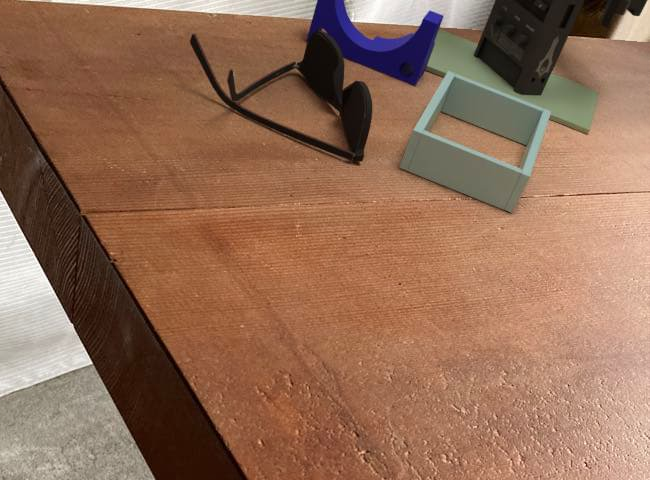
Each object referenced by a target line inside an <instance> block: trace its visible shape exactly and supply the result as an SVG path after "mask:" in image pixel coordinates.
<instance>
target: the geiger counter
mask: <svg viewBox="0 0 650 480" xmlns="http://www.w3.org/2000/svg"><path fill="white" fill-rule="evenodd" d="M585 1H586V0H494V3H493V5H492V8H491V11H490V13H489V15H488V18H487V20H486V24H485V25H484V28H483V31H482V33H481V35H480V38H479V39H478V40H479V41H478V43H477V44H478V45H477V48H476V50H475V53H474V55H473V56H474V57H476V58H480V59H481V60H482V61H483V62H484V63H485V64H487V65H488V66H489V67H490V68H491V69H492V70H494V71H495V72H496V73H497V74H498V75H499V76H500V77H502V78H503V79H504V80H505V81H506V82H507V83H508V84H510V85H511V86H512V87H513V88H514V90H513V91H515V92H516V93H518V94H521V95H540V96H541V94H542V92H543V90H544V88H545V86H546V83H547V81H548V79H549V77H550V75H551V73H552V72H553V71H554V69H555V66H556V64H557V61H558V60H559V57H560V55H561V53H562V51H563V49H564V46H565V44H566V42H567V40H568V38H569V36H570V34H571V32H572V29H573V27H574V25H575V23H576V20H577V18H578V16H579V13H580V11H581V10H582V7H583V5H584V3H585Z"/></svg>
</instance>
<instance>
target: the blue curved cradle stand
mask: <svg viewBox="0 0 650 480" xmlns="http://www.w3.org/2000/svg"><path fill="white" fill-rule="evenodd" d="M443 19H444V15H443V14H440V13H438V12H435V11H432V10H428V11H427V12H426V14H425V15H424V17H423V18H422V21H421V22H420V25H419V27H418V29H417V30H415V31H414V33H412V32H410V33H409V34H406V35H404V36H401V37H394V38H387V37H386V38H385V37H381V36H378V35H375V37H374V38H373V39H372V38H369V37H368V36H366V35H364V34H363V33H362V32H361V31H359V30H358V28H357V27H356V26H355V25H354V23H353V22H352V20H351V18H350V17H349V15H348V12H347V9H346V4H345V0H316V4H315V8H314V11H313V15H312V18H311V22H310V25H309V29H308V33H307V37H306V41H305V43H306V44H307V43H308V40H309V38H310V35H311V34H312V33H313V32H314V31H316V30H318V31H324V32H326V33H327V34H329V35H330V36H331V37H332V38H333V39H334V40H335V41H336V43H337V44H338V46H339V47H340V49H341V51H342V54H343V58H345V59H348V60H350V61H352V62H354V63H357V64H359V65H362V66H365V67H368V68H370V69H373V70H375V71H377V72H380V73H383V74H385V75H387V76H390V77H392V78H395V79H398V80H400V81H402V82H405V83H407V84H410V85H412V86H416V85H417V84H418V82H419V81H420V80H421V78H422V77H423V75H424V74H425V73H426V67H427V64H428V62H429V59H430V56H431V53H432V51H433V48H434V45H435V42H434V41H435V39H436V36H437V33H438V30H439V29H440V27H441V25H442V22H443Z"/></svg>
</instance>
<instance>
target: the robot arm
mask: <svg viewBox="0 0 650 480" xmlns="http://www.w3.org/2000/svg"><path fill="white" fill-rule="evenodd" d="M603 1H604V2H605V3H606V5H605V7H604V10H603V14H602V17H601V21H600V26H601V27H604V28H607V29H608V28H609V26H610V23H611V21H612V20H613V18H614V15H615V14H617V15H620V16H624V15H625V14H626V12H627V11H628V12H629V13H630V14H631V16H633V17H640V16H641V14H642V12H643V10H644V8H645V7H646V5H647V2H648V0H603Z"/></svg>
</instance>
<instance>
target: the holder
mask: <svg viewBox="0 0 650 480" xmlns="http://www.w3.org/2000/svg"><path fill="white" fill-rule="evenodd" d="M441 113H444V114H447V115H448V116H451V117H454V118H457V119H459V120H462V121H464V122H466V123H469V124H470V125H471V124H472V125H474V126H476V127H479V128H481V129H483V130H487V131H489V132H491V133H494V134H497V135H499V136H501V137H503V138H507V139H509V140H510V141H511V140H512V141H514V142H516V143H519V144H522V145H524V146H526V147H525V150H524V152H523V156H522V158H521V160H520V164H519V166H515V165H512V164H510V163H508V162H506V161H502V160H501V159H497V158H495V157H492V156H490V155H487V154H485V153H483V152H480V151H477V150H475V149H472V148H471V147H467V146H465V145H462V144H460V143H457V142H455V141H453V140H450V139H447V138H445V137H442V136H440V135H438V134H434V133H432V132H431V130H432V129H433V126H434V124H435V123H436V121H437V119H438V117H439V115H440V114H441ZM550 115H551V111H549V110H546V109H543V108H541V107H539V106H536V105H534V104H531V103H529V102H526V101H524V100H521V99H519V98H516V97H514V96H511V95H509V94H506V93H503V92H501V91H498V90H496V89H493V88H491V87H488V86H486V85H483V84H481V83H478V82H476V81H473V80H471V79H468V78H465V77H463V76H460V75H458V74H455V73H453V72H450V71H448V72H447V74H446V75H445V77H443V79H442V81H441V82H440V84H439V86H438V87H437V89H436V90H435V92H434V94H433V96H432V97H431V99H430V101H429V102H428V104H427V106H426V107H425V109H424V111H423V112H422V114H421V116H420V117H419V119H418V120H417V122H416V124H415V125H414V128H413V129H412V131H411V135H410V138H409V140H408V143H407V145H406V148H405V150H404V153H403V156H402V159H401V161H400V163H399V166H398V167H399V169H401V170H404V171H406V172H409V173H411V174H414V175H416V176H419V177H421V178H423V179H426V180H429V181H431V182H433V183H436V184H438V185H440V186H442V187H445V188H448V189H451V190H453V191H456V192H458V193H461V194H462V195H466V196H468V197H471V198H473V199H475V200H478V201H480V202H483V203H485V204H487V205H491V206H493V207H496V208H498V209H500V210H503V211H505V212H508V213H511V214H513V213H514V211H515V210H516V207H517V205H518V203H519V202H520V199H521V196H522V195H523V192H524V191H525V188H526V187H527V185H528V182H529V180H530V178H531V175H532V173H533V169H534V166H535V163H536V160H537V157H538V154H539V151H540V148H541V145H542V143H543V139H544V136H545V132H546V130H547V127H548V124H549V120H550V119H549V118H550Z"/></svg>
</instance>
